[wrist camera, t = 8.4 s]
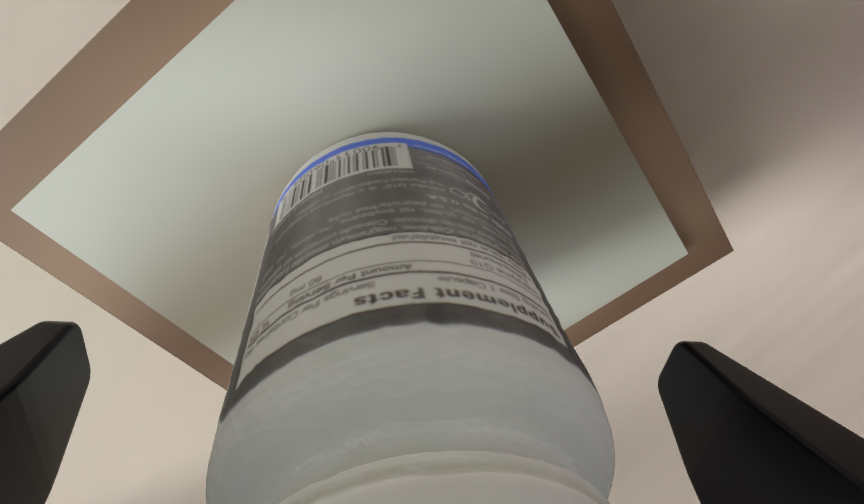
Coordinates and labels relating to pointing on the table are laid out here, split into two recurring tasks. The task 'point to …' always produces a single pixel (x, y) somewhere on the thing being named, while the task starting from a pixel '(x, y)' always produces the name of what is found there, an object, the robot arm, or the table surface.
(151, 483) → the table surface
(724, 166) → the table surface
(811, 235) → the table surface
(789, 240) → the table surface
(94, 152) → the pedestal
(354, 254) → the pill bottle
